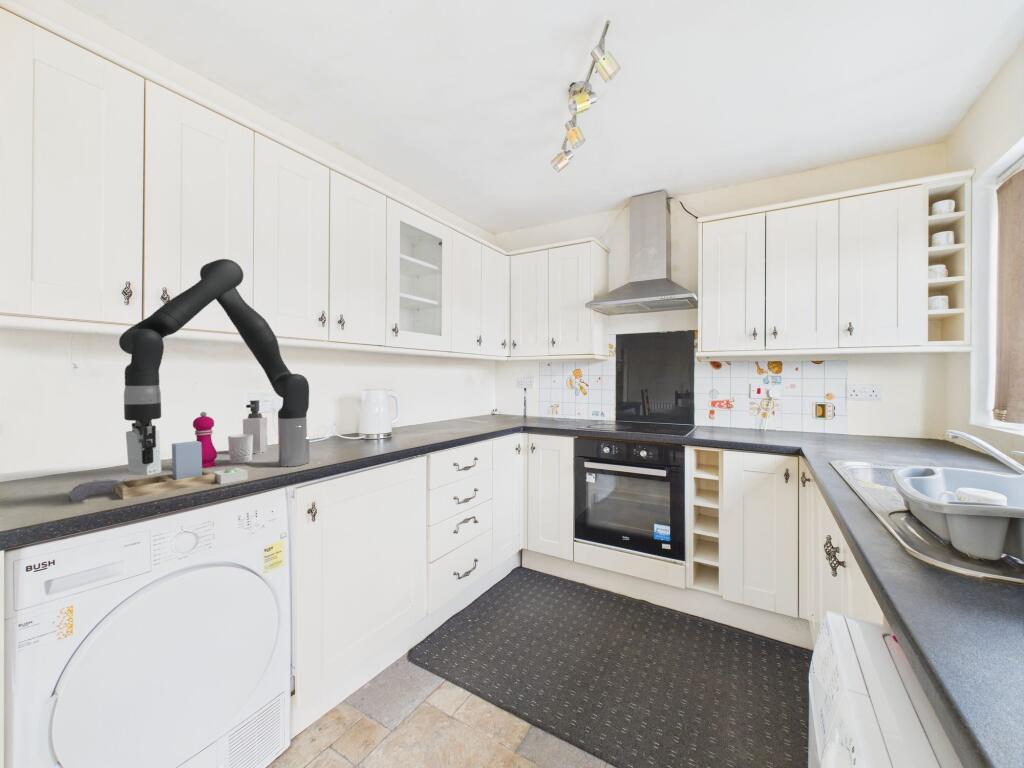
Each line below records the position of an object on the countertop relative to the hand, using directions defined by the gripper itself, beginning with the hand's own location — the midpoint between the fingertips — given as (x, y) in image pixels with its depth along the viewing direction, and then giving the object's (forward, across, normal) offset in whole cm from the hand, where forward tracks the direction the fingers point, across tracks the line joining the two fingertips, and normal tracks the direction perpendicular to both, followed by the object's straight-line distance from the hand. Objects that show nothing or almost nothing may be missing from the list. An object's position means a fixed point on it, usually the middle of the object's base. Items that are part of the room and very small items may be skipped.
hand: (144, 461), depth 112 cm
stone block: (+10, +12, +8) cm, 17 cm away
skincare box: (+4, 0, 0) cm, 4 cm away
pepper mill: (+9, +24, -20) cm, 33 cm away
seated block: (+8, 0, -10) cm, 13 cm away
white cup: (+9, +26, -32) cm, 42 cm away
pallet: (+9, 0, -5) cm, 10 cm away
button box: (+9, -5, -19) cm, 21 cm away
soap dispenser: (+9, +41, -42) cm, 60 cm away
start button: (+8, -5, -19) cm, 21 cm away
